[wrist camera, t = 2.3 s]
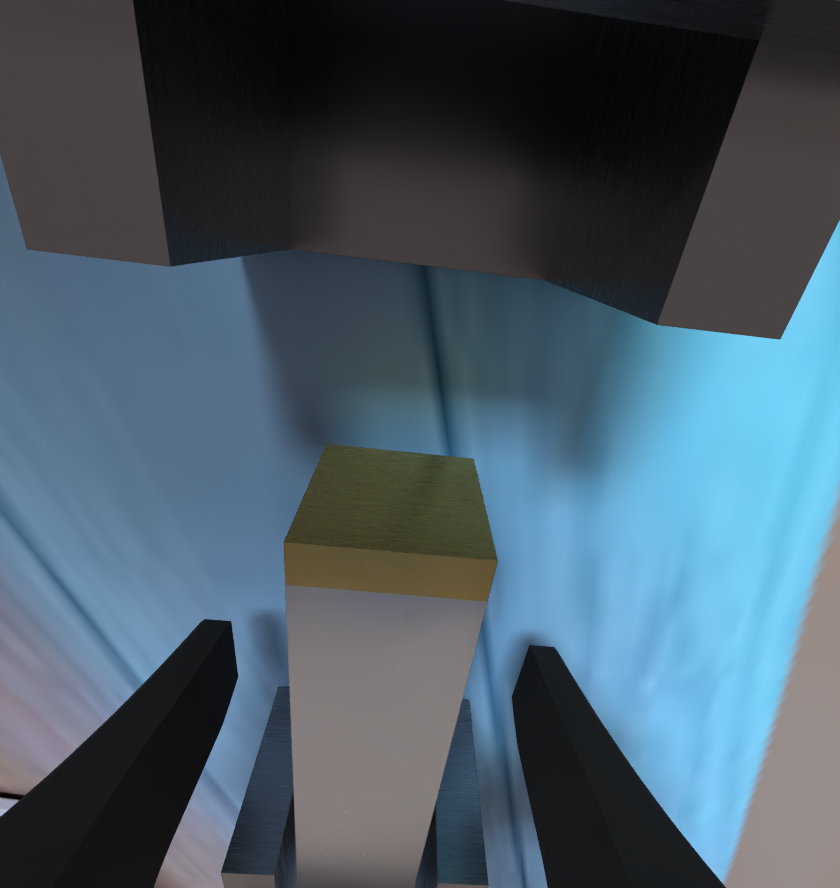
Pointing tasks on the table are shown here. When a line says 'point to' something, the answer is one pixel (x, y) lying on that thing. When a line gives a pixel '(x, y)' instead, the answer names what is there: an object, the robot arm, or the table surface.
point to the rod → (379, 654)
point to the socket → (441, 140)
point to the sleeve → (273, 818)
